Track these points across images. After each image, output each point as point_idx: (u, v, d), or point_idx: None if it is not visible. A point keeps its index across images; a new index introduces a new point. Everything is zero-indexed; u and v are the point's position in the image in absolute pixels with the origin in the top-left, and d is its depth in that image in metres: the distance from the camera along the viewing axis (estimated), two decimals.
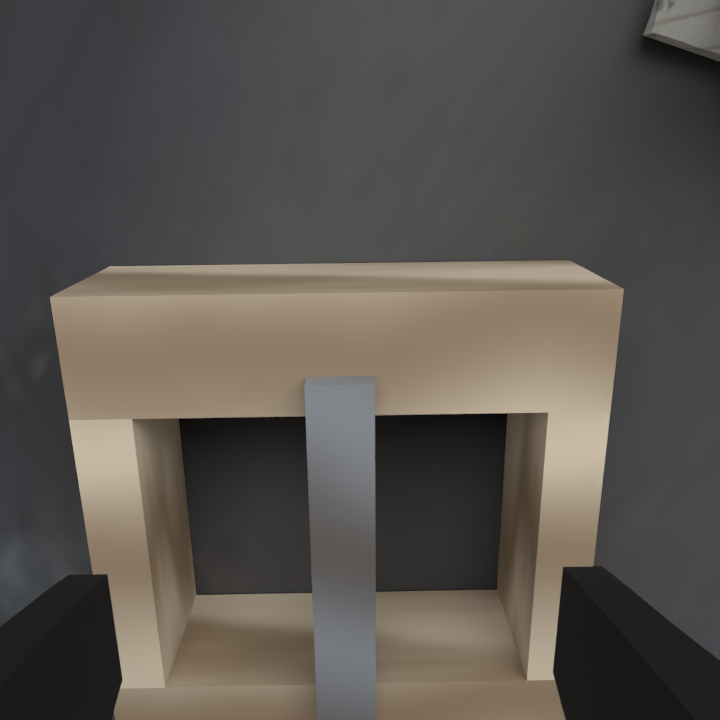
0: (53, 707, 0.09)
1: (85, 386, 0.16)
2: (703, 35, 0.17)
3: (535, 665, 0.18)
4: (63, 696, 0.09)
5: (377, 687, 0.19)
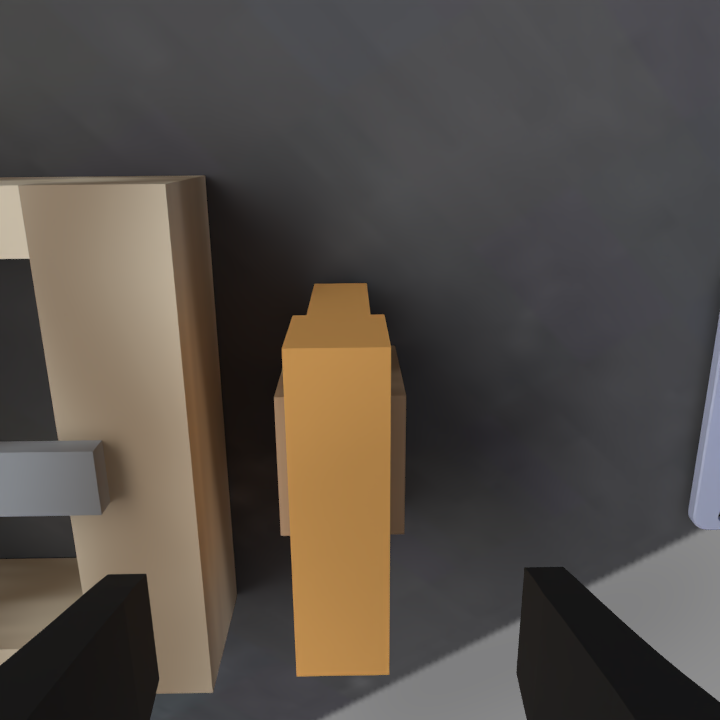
0: (100, 707, 0.09)
1: None
2: None
3: (4, 249, 0.14)
4: (109, 695, 0.09)
5: (63, 438, 0.15)
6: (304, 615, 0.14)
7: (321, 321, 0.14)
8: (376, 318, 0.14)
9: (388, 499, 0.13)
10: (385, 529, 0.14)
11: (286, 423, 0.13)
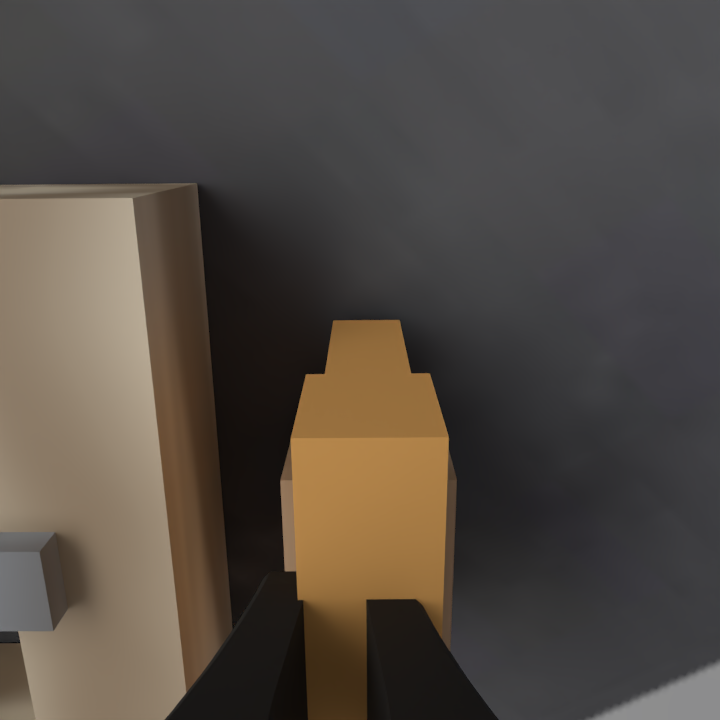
0: (294, 702, 0.09)
1: None
2: None
3: None
4: (298, 692, 0.09)
5: (5, 529, 0.12)
6: None
7: (345, 385, 0.10)
8: (420, 380, 0.11)
9: None
10: None
11: (297, 540, 0.09)
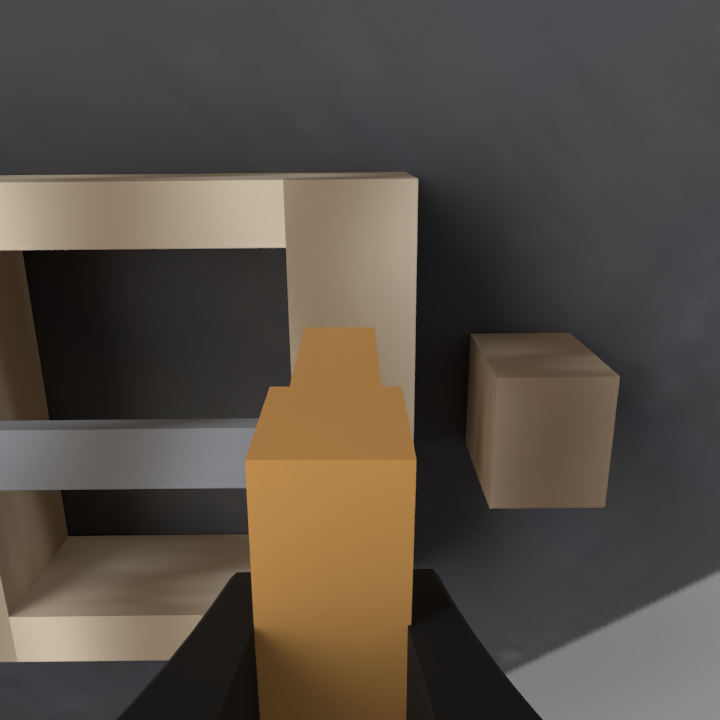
0: (254, 704, 0.09)
1: None
2: None
3: (263, 238, 0.15)
4: None
5: None
6: None
7: (310, 399, 0.10)
8: (390, 394, 0.10)
9: None
10: (401, 716, 0.09)
11: (252, 569, 0.08)
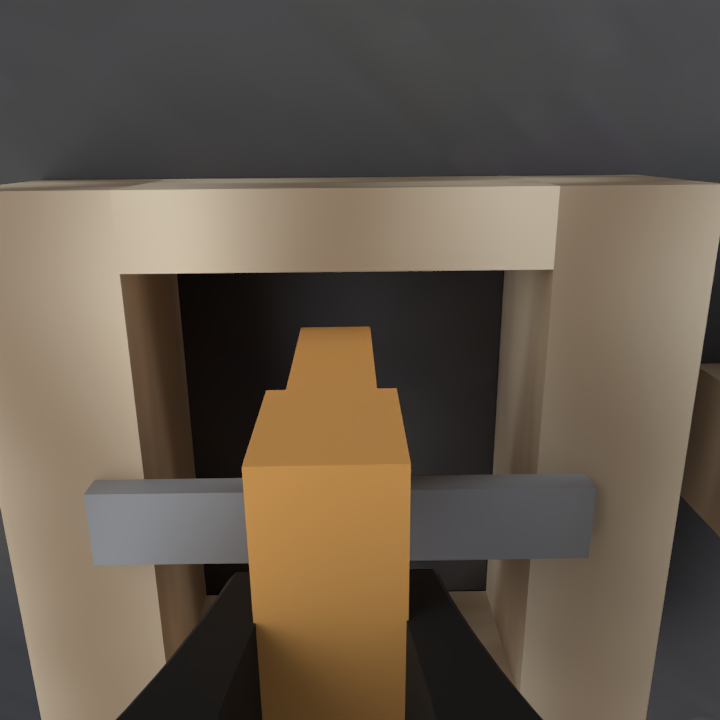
0: (253, 703, 0.09)
1: None
2: None
3: (527, 258, 0.12)
4: (258, 692, 0.09)
5: (544, 471, 0.14)
6: None
7: (306, 403, 0.10)
8: (385, 396, 0.10)
9: (405, 674, 0.09)
10: (400, 713, 0.09)
11: (251, 573, 0.08)
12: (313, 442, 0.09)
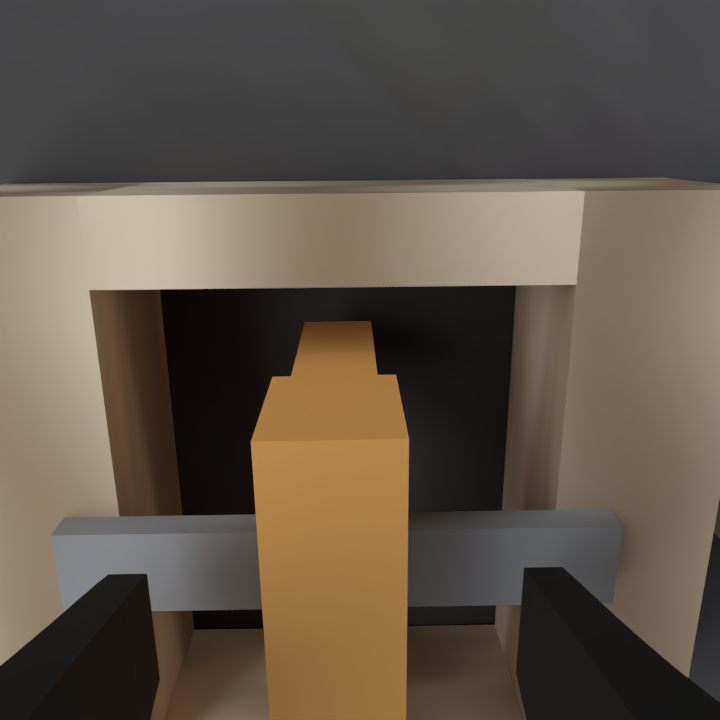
0: (101, 706, 0.09)
1: None
2: None
3: (547, 272, 0.11)
4: (109, 695, 0.09)
5: (563, 507, 0.12)
6: None
7: (310, 387, 0.10)
8: (385, 382, 0.11)
9: (404, 642, 0.10)
10: (400, 681, 0.10)
11: (259, 544, 0.09)
12: (317, 421, 0.09)
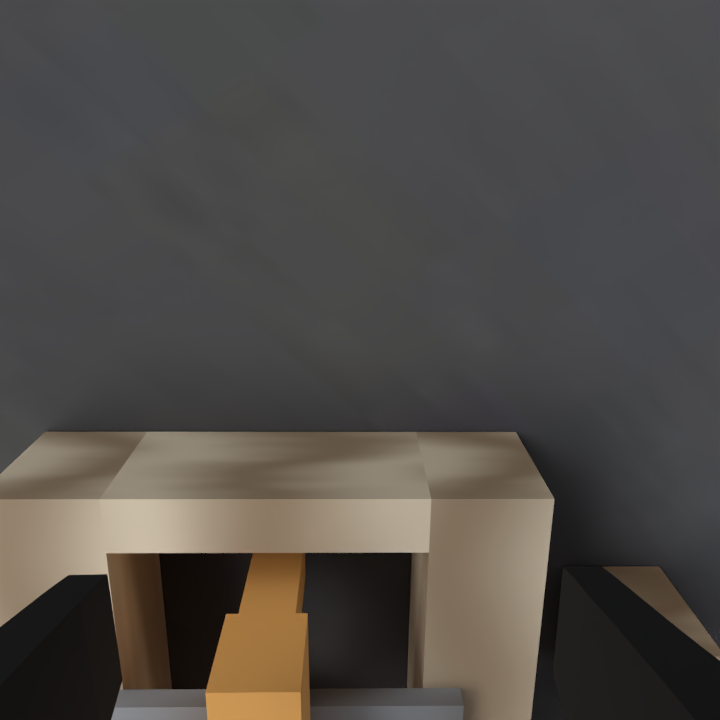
0: (53, 707, 0.09)
1: None
2: None
3: (409, 545, 0.17)
4: (63, 696, 0.09)
5: (428, 686, 0.18)
6: None
7: (249, 629, 0.16)
8: (299, 623, 0.16)
9: None
10: None
11: None
12: (248, 670, 0.15)
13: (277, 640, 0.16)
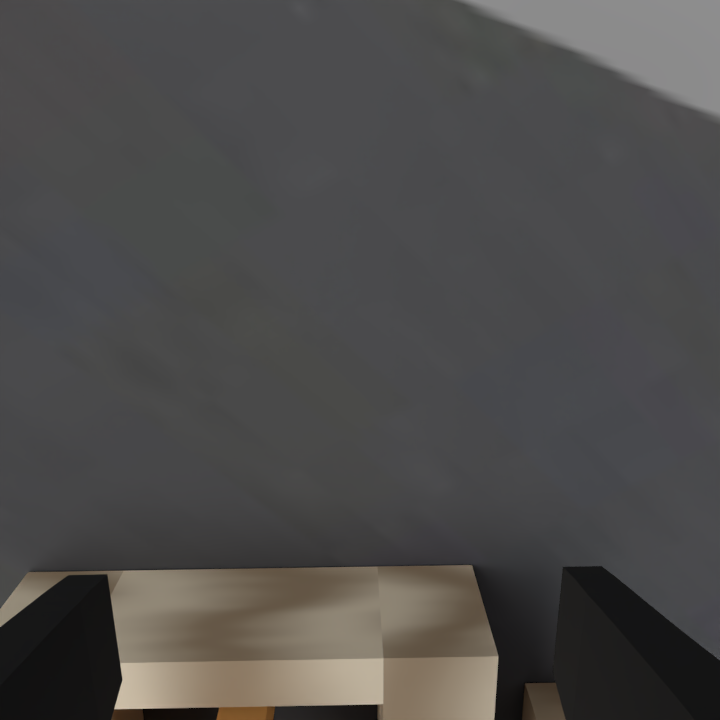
0: (53, 707, 0.09)
1: None
2: None
3: (364, 698, 0.18)
4: (63, 696, 0.09)
5: None
6: None
7: None
8: None
9: None
10: None
11: None
12: None
13: None
